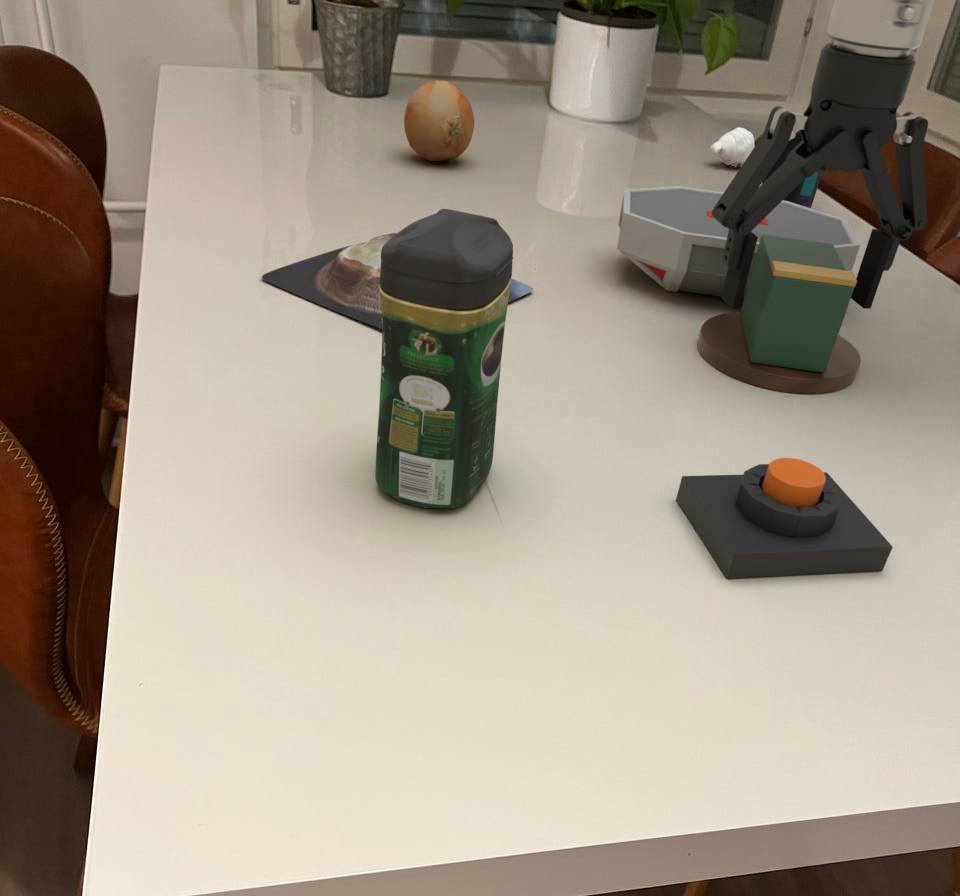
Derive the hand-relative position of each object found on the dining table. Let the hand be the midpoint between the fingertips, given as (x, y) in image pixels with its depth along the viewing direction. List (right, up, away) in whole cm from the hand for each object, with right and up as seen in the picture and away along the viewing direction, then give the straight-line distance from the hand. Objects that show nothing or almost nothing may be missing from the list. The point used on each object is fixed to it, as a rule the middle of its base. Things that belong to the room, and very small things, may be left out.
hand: (796, 303), depth 94 cm
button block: (-8, -24, -22) cm, 34 cm away
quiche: (-38, +5, +9) cm, 40 cm away
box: (-1, -3, +2) cm, 4 cm away
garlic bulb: (+8, +41, +59) cm, 72 cm away
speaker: (+12, +28, +43) cm, 53 cm away
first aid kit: (-3, +8, +18) cm, 20 cm away
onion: (-36, +36, +46) cm, 68 cm away
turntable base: (-1, -4, +4) cm, 6 cm away
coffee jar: (-34, -20, -20) cm, 44 cm away
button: (-8, -22, -24) cm, 33 cm away
